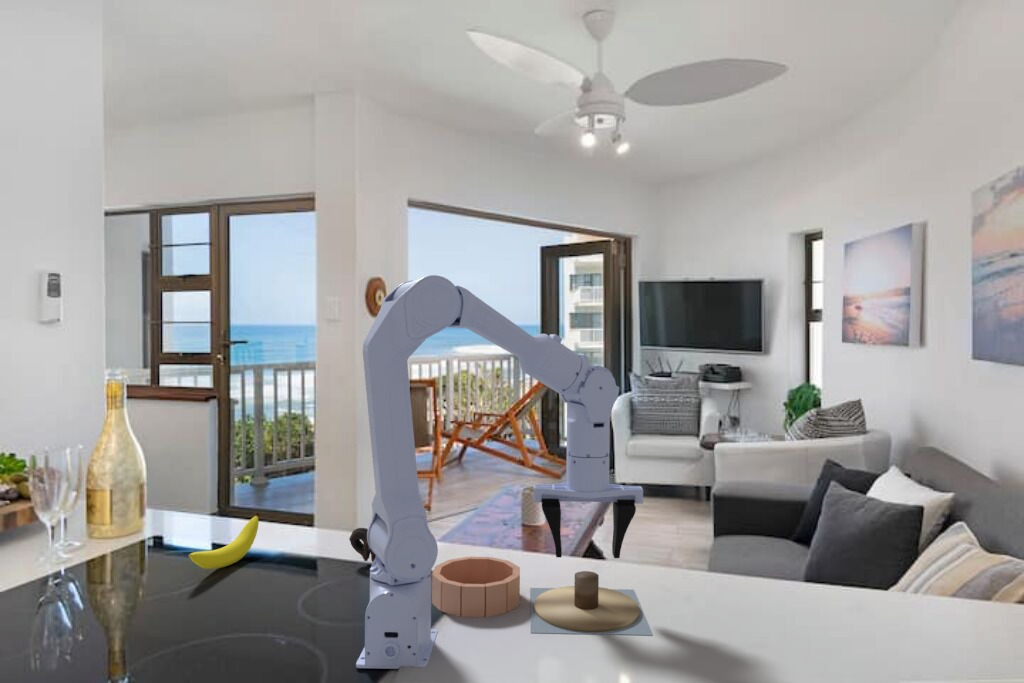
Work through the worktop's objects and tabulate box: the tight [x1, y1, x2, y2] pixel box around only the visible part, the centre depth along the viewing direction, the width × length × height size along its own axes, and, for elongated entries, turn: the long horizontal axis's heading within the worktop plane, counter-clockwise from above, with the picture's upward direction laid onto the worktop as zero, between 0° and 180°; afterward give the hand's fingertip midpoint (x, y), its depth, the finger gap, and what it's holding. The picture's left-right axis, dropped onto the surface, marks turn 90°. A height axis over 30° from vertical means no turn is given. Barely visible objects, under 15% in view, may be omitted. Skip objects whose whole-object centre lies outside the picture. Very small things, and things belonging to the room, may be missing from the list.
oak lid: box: [534, 570, 639, 632], centre depth 91 cm, size 14×14×5 cm
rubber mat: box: [529, 587, 653, 637], centre depth 91 cm, size 15×15×1 cm
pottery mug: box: [348, 527, 376, 562], centre depth 109 cm, size 12×10×8 cm
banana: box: [188, 512, 261, 570], centre depth 108 cm, size 3×19×6 cm, turn 171°
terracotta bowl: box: [431, 556, 521, 618], centre depth 94 cm, size 12×12×4 cm
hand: (587, 555), depth 91 cm, fingers open, 7 cm apart
